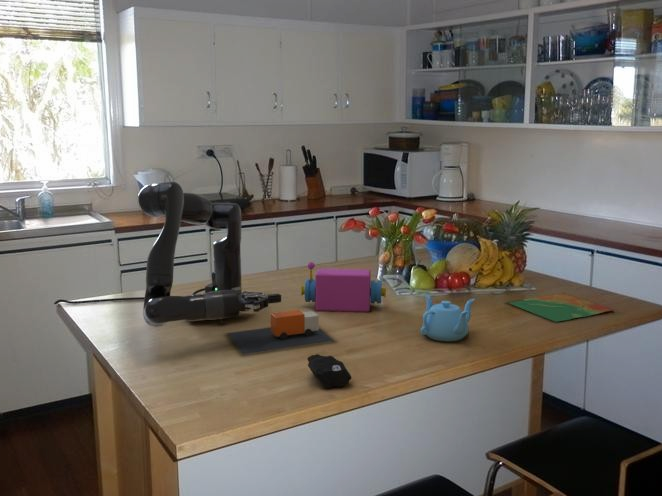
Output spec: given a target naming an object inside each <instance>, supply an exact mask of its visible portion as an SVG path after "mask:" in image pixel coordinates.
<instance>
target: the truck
mask: <svg viewBox="0 0 662 496" xmlns="http://www.w3.org/2000/svg"><path fill="white" fill-rule="evenodd" d="M269 315H270V328H271V332H272V333H273V334H274V335H275V336H276V337H280V338H281V339H282V340H285V339H286V338H287V335H293V334H301V333H303V334H305V335H306V336H310V335H311V334H312V331H316V330H319V329H320V325H319V324H320V323H319V322H320V319H319V318H320V316H319V314H318V313H316V312H315V311H313V310H309V311H302V310H300V309H291V310H282V311H274V312H270V314H269Z"/></svg>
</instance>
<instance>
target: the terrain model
mask: <svg viewBox="0 0 662 496" xmlns="http://www.w3.org/2000/svg"><path fill="white" fill-rule="evenodd" d="M508 304H509V305H511V306H514V307H517V308H519V309H522V310H524V311H526V312H530V313H532V314H535V315H537V316H540V317H542V318H545V319H547V320H549V321H552V322H557V323H559V322H562V321H570V320H572V319H576V318H586V317H591V316H593V315H598V314H602V313H606V312H611V311H615V308H611V307H608V306H605V305H603V304H599V303H596V302H593V301H589V300H586V299H584V298H582V297H579V296H578V297H577V296H575V295H571V294H569V293H566V292H560V293H554V294H547V295H541V296H535V297H531V298H524V299H522V300H517V301H510V302H508Z"/></svg>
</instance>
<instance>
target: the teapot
mask: <svg viewBox="0 0 662 496" xmlns="http://www.w3.org/2000/svg"><path fill="white" fill-rule="evenodd" d="M424 297H425V299H426V308H425V312H424V313H423V314H422V327H421V328H420V334H421V335H424V336H426V337H428V338H429V339H430V340H434V341H439V342H456V341H461V340H462V339H464V338H465V337H466V336H467V335H468V333H469V322H470V320H471V316H472V315H471V314H472V313H471V312H472V311H471V310H472V304H473V302H474V301H475V299H476V298H473V297H472V298H470V299H469V300H467V302H466V303H465V305H464V309H463V310H462V309H461V308H460V306H459V305H457V304H453V303H452V302H451V301H450V300H442V301H441V302H440V303H435V304H434V303H433V300H432V298H431V296H430V295H429V294H427V293H425V294H424Z"/></svg>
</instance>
